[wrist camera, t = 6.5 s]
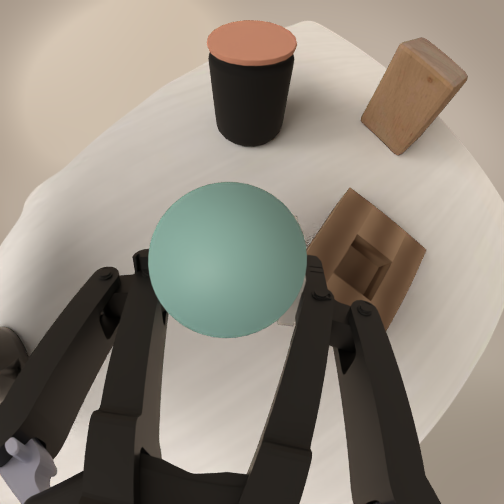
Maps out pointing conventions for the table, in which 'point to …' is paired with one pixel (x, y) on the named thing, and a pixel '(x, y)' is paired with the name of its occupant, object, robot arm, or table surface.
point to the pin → (227, 260)
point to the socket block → (366, 256)
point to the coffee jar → (250, 79)
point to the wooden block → (412, 93)
